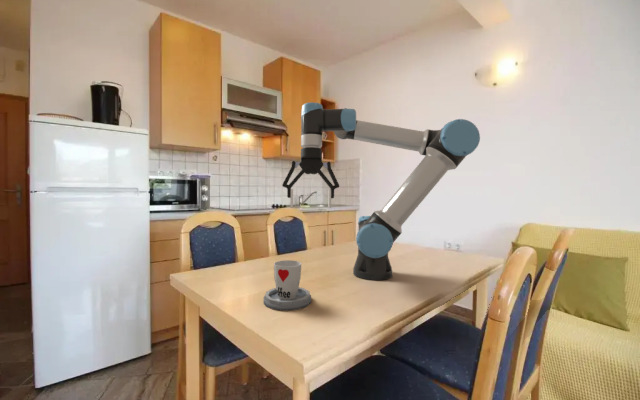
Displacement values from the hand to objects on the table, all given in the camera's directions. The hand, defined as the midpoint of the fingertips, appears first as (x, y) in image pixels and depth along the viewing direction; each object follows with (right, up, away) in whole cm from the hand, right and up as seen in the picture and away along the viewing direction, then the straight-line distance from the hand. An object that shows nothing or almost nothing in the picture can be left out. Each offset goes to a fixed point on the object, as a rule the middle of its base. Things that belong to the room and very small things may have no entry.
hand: (310, 207), depth 105 cm
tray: (-6, -27, -19) cm, 34 cm away
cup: (-6, -26, -19) cm, 33 cm away
